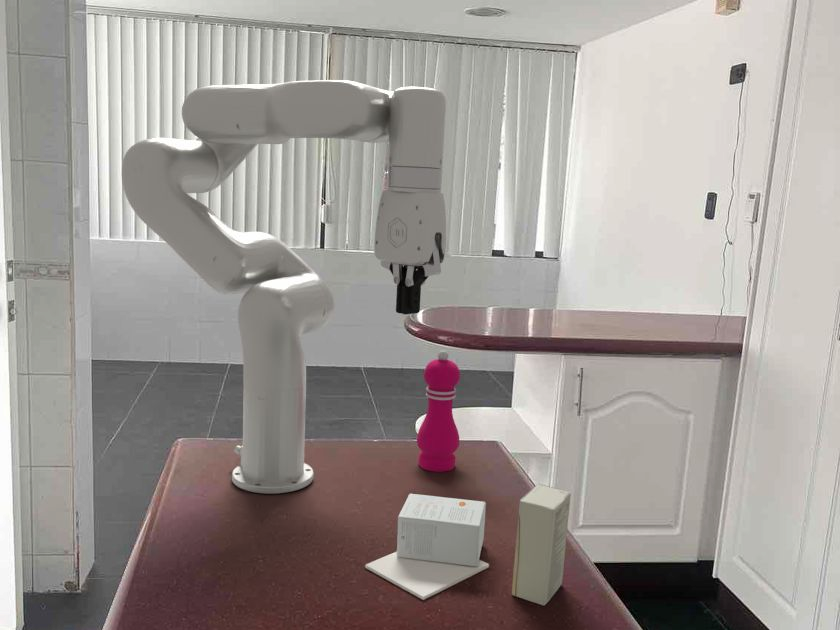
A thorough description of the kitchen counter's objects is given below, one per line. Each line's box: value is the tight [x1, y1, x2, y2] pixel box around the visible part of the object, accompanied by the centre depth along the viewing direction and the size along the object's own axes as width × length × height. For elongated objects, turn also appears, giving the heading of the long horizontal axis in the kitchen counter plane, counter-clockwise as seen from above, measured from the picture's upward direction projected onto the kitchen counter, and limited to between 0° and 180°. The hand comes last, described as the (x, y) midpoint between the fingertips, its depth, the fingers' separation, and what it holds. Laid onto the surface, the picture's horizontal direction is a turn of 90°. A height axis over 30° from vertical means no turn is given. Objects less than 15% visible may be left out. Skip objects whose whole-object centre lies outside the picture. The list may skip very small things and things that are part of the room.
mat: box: [364, 551, 490, 601], centre depth 99 cm, size 10×12×1 cm
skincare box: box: [511, 483, 572, 606], centre depth 94 cm, size 6×4×12 cm
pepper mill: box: [416, 349, 461, 473], centre depth 132 cm, size 7×7×20 cm
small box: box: [396, 493, 487, 567], centre depth 103 cm, size 8×6×10 cm
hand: (407, 312), depth 112 cm, fingers closed
